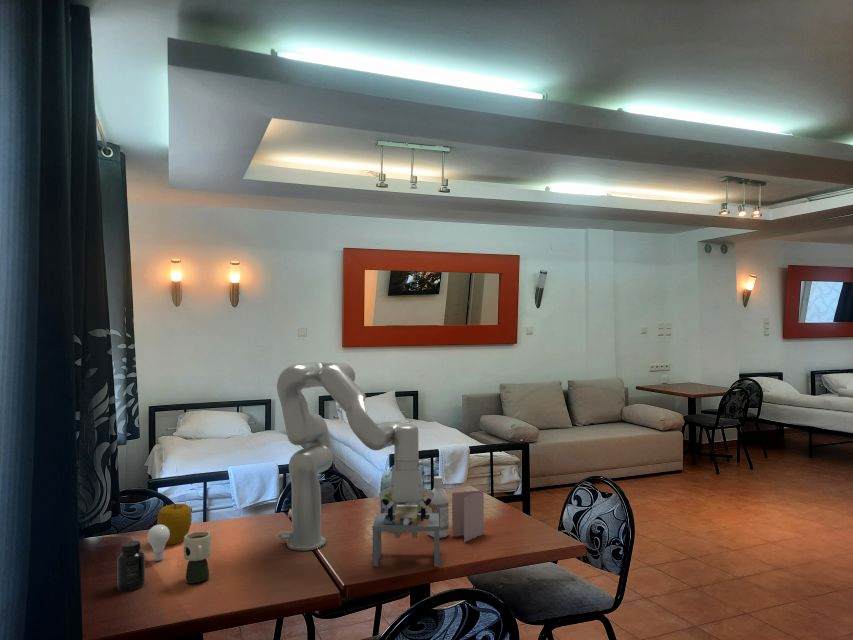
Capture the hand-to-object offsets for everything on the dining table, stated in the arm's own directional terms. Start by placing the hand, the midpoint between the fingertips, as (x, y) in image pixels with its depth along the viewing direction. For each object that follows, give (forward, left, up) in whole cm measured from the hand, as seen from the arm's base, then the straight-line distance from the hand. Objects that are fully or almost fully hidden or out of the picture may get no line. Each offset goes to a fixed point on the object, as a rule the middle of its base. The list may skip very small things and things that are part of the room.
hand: (406, 519), depth 187 cm
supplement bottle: (-76, -20, -12) cm, 80 cm away
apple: (-79, +15, -12) cm, 81 cm away
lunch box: (-3, +40, -12) cm, 41 cm away
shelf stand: (0, 0, -12) cm, 12 cm away
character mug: (-59, -16, -12) cm, 62 cm away
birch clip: (0, 0, -4) cm, 4 cm away
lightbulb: (-77, -1, -12) cm, 78 cm away
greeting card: (+21, +19, -12) cm, 30 cm away
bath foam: (+10, +22, -12) cm, 27 cm away
